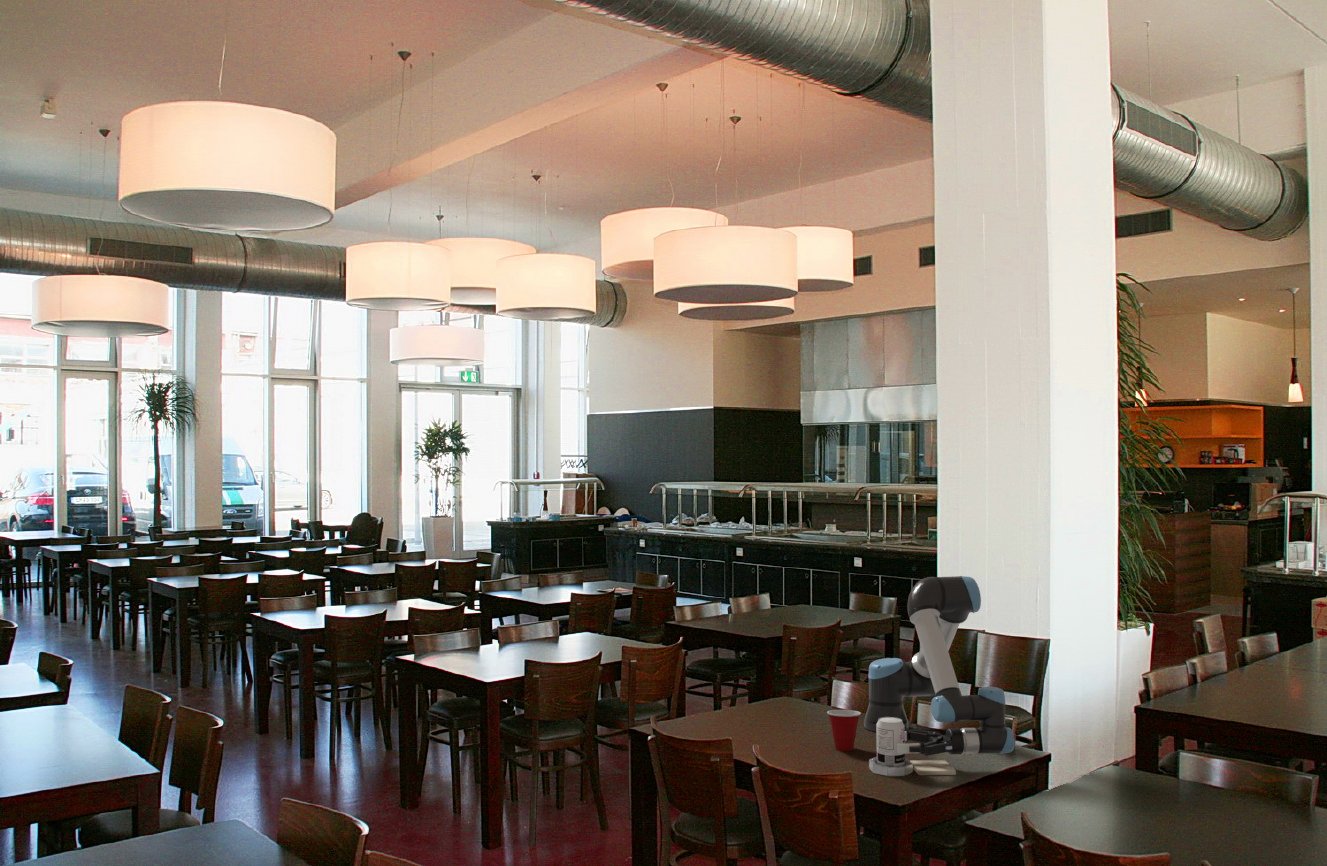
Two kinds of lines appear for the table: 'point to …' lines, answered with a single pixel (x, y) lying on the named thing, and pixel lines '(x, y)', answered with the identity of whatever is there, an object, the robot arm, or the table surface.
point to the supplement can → (890, 741)
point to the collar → (891, 768)
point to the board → (932, 767)
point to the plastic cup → (844, 728)
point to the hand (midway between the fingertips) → (891, 742)
